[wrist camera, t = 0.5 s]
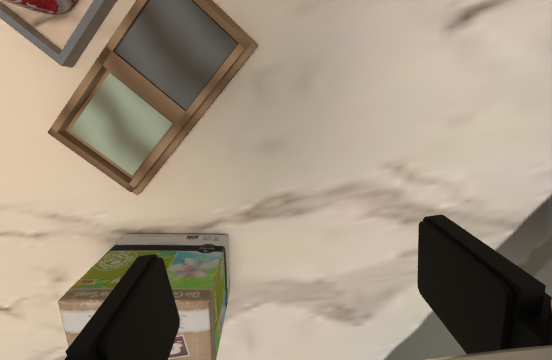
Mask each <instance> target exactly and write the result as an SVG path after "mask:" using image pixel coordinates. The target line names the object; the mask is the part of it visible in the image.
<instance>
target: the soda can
mask: <svg viewBox="0 0 552 360" xmlns="http://www.w3.org/2000/svg"><path fill="white" fill-rule="evenodd" d="M4 1H7V2H10V3H13V4H16V5H19V6H22V7H25V8H28V9H31V10H34V11H38V12H42V13H47V14H59V13H63V12H65V11H67V10H68V9H70V8H71V6H72V5H73V4H74V2H75V0H4Z"/></svg>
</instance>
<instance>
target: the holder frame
mask: <svg viewBox="0 0 552 360" xmlns="http://www.w3.org/2000/svg"><path fill="white" fill-rule="evenodd" d="M116 1H117V0H94V1H93V3H92V4H91V6H90V7H89V9H88V10H87V12H86V14H85V15H84V17H83V18H82V20H81V21H80V23H79V24H78V26H77V28H76V29H75V31H74V32H73V34H72V35H71V37H70V39H69V40H68V42H67V43H66V45H65V46H64V48H63V50H60V49H59V48H58V47H57V46H55V45H54V44H53V43H52V42H50V41H49V40H48V39H47V38H45V37H44V36H43V35H42V34H40V33H39V32H38V31H37V30H35V29H34V28H33V27H31V26H30V25H29V24H28V23H26V22H25V21H24V20H23V19H21V18H20V17H19V16H18V15H16V14H15V13H14V12H13V11H11V10H10V9H9V8H8V7H6V6H5V5H4V4H2V3H1V2H0V18H1V19H2V20H4V21H5V22H6V23H7V24H9V25H10V26H11V27H13V28H14V29H15V30H16V31H18V32H19V33H20V34H21V35H23V36H24V37H25V38H27V39H28V40H29V41H30V42H32V43H33V44H34V45H36V46H37V47H38V48H39V49H41V50H42V51H43V52H45V53H46V54H47V55H48V56H50V57H51V58H52V59H54V60H55V61H56V62H57V63H59V64H60V65H61V66H67V67H73V66H74V65H75V63H76V62H77V60H78V58H79V57H80V55H81V54H82V52H83V51H84V49H85V48H86V46H87V45H88V43H89V42H90V40H91V39H92V37H93V36H94V34H95V33H96V31H97V30H98V28H99V27H100V25H101V23H102V22H103V20H104V19H105V17H106V16H107V14H108V13H109V11H110V10H111V8H112V7H113V5H114V4H115V2H116Z"/></svg>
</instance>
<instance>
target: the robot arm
mask: <svg viewBox="0 0 552 360" xmlns="http://www.w3.org/2000/svg"><path fill="white" fill-rule="evenodd" d="M545 287H546V286H545V285H544V284H543V283H541V282H540V281H538V280H537V279H535V278H534V277H532V276H531V275H530V274H528V273H527V272H525V271H524V270H522V269H521V268H519V267H518V266H516V265H515V264H514V263H512V262H511V261H509V260H508V259H506V258H505V257H503V256H502V255H501V254H499V253H498V252H496V251H495V250H493V249H492V248H490V247H489V246H487V245H486V244H485V243H483V242H482V241H480V240H479V239H477V238H476V237H474V236H473V235H471V234H470V233H469V232H467V231H466V230H464V229H463V228H461V227H460V226H458V225H457V224H456V223H454V222H453V221H451V220H450V219H448V218H447V217H445V216H444V215H435V216H428V217H425V218H424V219H423V221H421V222H420V223H419V240H418V289H419V292H420V294H421V295H422V297H423V298H424V299H425V301H426V302H427V303H428V304H429V306H430V307H431V308H432V310H433V311H434V312H435V313H436V315H437V316H438V317H439V318H440V320H441V321H442V322H443V324H444V325H445V326H446V328H447V329H448V330H449V332H450V333H451V334H452V335H453V337H454V338H455V339H456V340H457V342H458V343H459V344H460V346H461V347H462V348H463V350H464V351H465V352H466V354H465V355H457V356H450V357H442V358H435V359H427V360H552V297H550V296H549V295H548V294H546V293H545ZM179 327H180V317H179V313H178V309H177V306H176V302H175V299H174V295H173V292H172V288H171V285H170V281H169V278H168V274H167V271H166V267H165V264H164V261H163V258H162V257H158V256H157V255H156V254H150V255H143V256H138V257H137V258H136V260H135V261H134V262H133V264H132V265H131V266H130V268H129V269H128V270H127V271H126V273H125V274H124V275H123V277H122V278H121V279H120V281H119V282H118V283H117V285H116V286H115V287H114V289H113V290H112V291H111V292H110V294H109V295H108V296H107V298H106V299H105V300H104V302H103V303H102V304H101V306H100V307H99V308H98V310H97V311H96V312H95V313H94V315H93V316H92V317H91V319H90V320H89V321H88V323H87V324H86V325H85V327H84V328H83V329H82V331H81V332H80V333H79V334H78V336H77V337H76V338H75V340H74V341H73V342H72V344H71V345H70V346H69V348H68V349H67V350H66V354H67V357H66V358H65V360H168V358H169V355H170V352H171V350H172V347H173V344H174V341H175V338H176V336H177V333H178V330H179Z"/></svg>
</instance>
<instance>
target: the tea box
mask: <svg viewBox="0 0 552 360" xmlns="http://www.w3.org/2000/svg"><path fill="white" fill-rule="evenodd" d="M150 254H156V255H157V256H158V257H162V258H163V261H164V264H165V267H166V271H167V274H168V278H169V281H170V285H171V288H172V292H173V295H174V299H175V302H176V306H177V309H178V313H179V317H180V327H179V330H178V333H177V336H176V338H175V341H174V344H173V347H172V350H171V352H170V355H169V358H168V360H216V357H217V352H218V347H219V342H220V338H221V333H222V328H223V323H224V318H225V312H226V308H227V302H228V297H229V292H230V279H229V262H228V235H212V234H205V235H201V234H126V235H125V236H124V237H123V238H121V239H120V240H119V241H118V242H117V243H116V244H115V245H114V246H113V247H112V248H111V249H110V250H109V251H108V252H107V253H106V254H105V255H104V256H103V257H102V258H101V259H100V260H99V261H98V262H97V263H96V264H95V265H94V266H93V267H92V268H91V269H90V270H89V271H88V272H87V273H86V274H85V275H84V276H83V277H82V278H81V279H80V280H78V281H77V282H76V283H75V284H74V285H73V286H72V287H71V288H70V289H69V290H68V291H67V292H66V293H65V295H64V296H63V297H62V298H61V299H60V300H58V304H59V308H60V312H61V316H62V321H63V325H64V329H65V333H66V337H67V342H68V346H70V345H71V344H72V342H73V341H74V340H75V338H76V337H77V336H78V334H79V333H80V332H81V331H82V329H83V328H84V327H85V325H86V324H87V323H88V321H89V320H90V319H91V317H92V316H93V315H94V313H95V312H96V311H97V310H98V308H99V307H100V306H101V304H102V303H103V302H104V300H105V299H106V298H107V296H108V295H109V294H110V292H111V291H112V290H113V289H114V287H115V286H116V285H117V283H118V282H119V281H120V279H121V278H122V277H123V275H124V274H125V273H126V271H127V270H128V269H129V268H130V266H131V265H132V264H133V262H134V261H135V260H136V258H137V257H138V256H143V255H150Z"/></svg>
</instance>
